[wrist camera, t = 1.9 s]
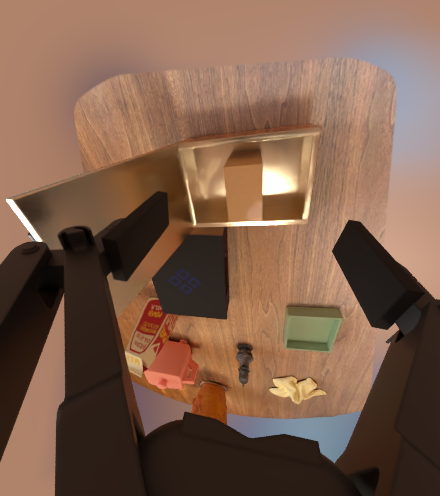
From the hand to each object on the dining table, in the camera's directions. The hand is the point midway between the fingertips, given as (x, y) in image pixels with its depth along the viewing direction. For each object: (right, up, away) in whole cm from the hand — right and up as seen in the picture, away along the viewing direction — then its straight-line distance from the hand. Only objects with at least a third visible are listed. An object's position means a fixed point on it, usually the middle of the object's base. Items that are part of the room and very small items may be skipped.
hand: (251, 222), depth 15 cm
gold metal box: (+3, +12, +21) cm, 24 cm away
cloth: (+29, -58, +66) cm, 93 cm away
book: (-9, -6, +36) cm, 37 cm away
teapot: (-20, -39, +61) cm, 75 cm away
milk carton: (-20, -21, +49) cm, 57 cm away
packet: (+2, +11, +21) cm, 24 cm away
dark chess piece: (+6, -37, +55) cm, 67 cm away
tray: (+23, -24, +43) cm, 55 cm away
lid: (-11, +1, +9) cm, 15 cm away
